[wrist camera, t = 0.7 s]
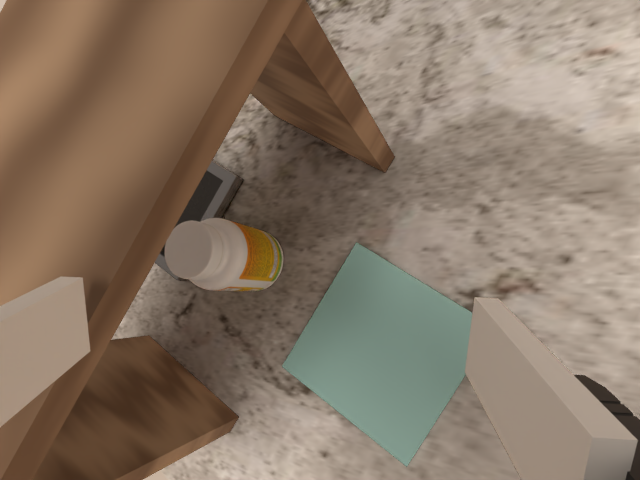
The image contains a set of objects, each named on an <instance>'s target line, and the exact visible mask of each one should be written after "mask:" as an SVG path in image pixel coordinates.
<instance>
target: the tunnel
mask: <svg viewBox="0 0 640 480" xmlns="http://www.w3.org/2000/svg"><path fill="white" fill-rule="evenodd" d="M250 93H251V94H252V95H253V96H254V97H255V98H256V99H257V100H258V101H259V102H260V103H262V104H263V105H264V106H265V107H266V108H267V109H268V110H269V111H270V112H271V113H273V114H274V115H275V116H277V117H279V118H281V119H283V120H284V121H286V122H288V123H290V124H292V125H294V126H296V127H298V128H300V129H302V130H304V131H306V132H307V133H309V134H311V135H313V136H315V137H317V138H319V139H321V140H323V141H325V142H327V143H329V144H330V145H332V146H334V147H336V148H338V149H340V150H342V151H344V152H346V153H348V154H350V155H352V156H353V157H355V158H357V159H359V160H361V161H363V162H365V163H367V164H369V165H371V166H373V167H375V168H377V169H378V170H380V171H382V172H384V173H385V172H386V171H387V169H388V167H389V166H390V164H391V162H392V161H393V159H394V157H395V156H394V155H393V153H392V151H391V149H390V148H389V146H388V144H387V142H386V141H385V139H384V137H383V135H382V134H381V132H380V130H379V128H378V127H377V125H376V123H375V121H374V120H373V118H372V116H371V114H370V113H369V111H368V109H367V107H366V105H365V104H364V102H363V100H362V98H361V97H360V95H359V93H358V91H357V90H356V88H355V86H354V84H353V83H352V81H351V79H350V77H349V76H348V74H347V72H346V70H345V69H344V67H343V65H342V63H341V62H340V60H339V58H338V56H337V54H336V53H335V51H334V49H333V47H332V46H331V44H330V42H329V40H328V39H327V37H326V35H325V33H324V32H323V30H322V28H321V26H320V25H319V23H318V21H317V19H316V18H315V16H314V14H313V12H312V11H311V9H310V7H309V5H308V3H307V2H306V0H7V1H6V3H5V5H4V7H3V9H2V11H1V12H0V306H2V305H4V304H6V303H8V302H10V301H12V300H14V299H16V298H18V297H20V296H22V295H24V294H26V293H28V292H30V291H32V290H34V289H36V288H38V287H40V286H42V285H44V284H46V283H49V282H51V281H53V280H55V279H57V278H59V277H81V278H83V285H84V295H85V304H86V314H87V323H88V333H89V342H90V352H89V353H88V354H86V355H85V356H84V357H83V358H82V359H80V360H79V361H78V362H77V363H76V364H75V365H73V366H72V367H71V368H70V369H69V370H67V371H66V372H65V373H64V374H63V375H62V376H60V377H59V378H58V379H57V380H56V381H54V382H53V383H52V384H51V385H50V386H49V387H47V388H46V389H45V390H44V391H43V392H41V393H40V394H39V395H38V396H37V397H36V398H34V399H33V400H32V401H31V402H30V403H28V404H27V405H26V406H25V407H24V408H22V409H21V410H20V411H19V412H18V413H17V414H15V415H14V416H13V417H12V418H11V419H9V420H8V421H7V422H6V423H5V424H4V425H2V426H1V427H0V480H143V479H144V478H146V477H148V476H150V475H152V474H154V473H155V472H157V471H159V470H161V469H163V468H165V467H166V466H168V465H170V464H172V463H174V462H176V461H177V460H179V459H181V458H183V457H185V456H187V455H188V454H190V453H192V452H194V451H196V450H198V449H199V448H201V447H203V446H205V445H207V444H208V443H210V442H212V441H214V440H216V439H218V438H219V437H221V436H223V435H225V434H227V433H229V432H230V431H231V429H232V428H233V426H234V424H235V423H236V421H237V419H238V418H239V417H238V416H237V415H236V414H235V413H234V412H233V411H232V410H231V409H229V408H228V407H227V406H226V405H225V404H224V403H223V402H222V401H221V400H219V399H218V398H217V397H216V396H215V395H214V394H213V393H212V392H211V391H210V390H208V389H207V388H206V387H205V386H204V385H203V384H202V383H201V382H200V381H198V380H197V379H196V378H195V377H194V376H193V375H192V374H191V373H190V372H189V371H187V370H186V369H185V368H184V367H183V366H182V365H181V364H180V363H179V362H178V361H176V360H175V359H174V358H173V357H172V356H171V355H170V354H169V353H168V352H166V351H165V350H164V349H163V348H162V347H161V346H160V345H159V344H158V343H157V342H155V341H154V340H153V339H152V338H151V337H150V336H141V337H132V338H123V339H115V340H111V339H112V337H113V335H114V333H115V332H116V330H117V328H118V326H119V325H120V323H121V321H122V319H123V317H124V316H125V314H126V312H127V310H128V309H129V307H130V305H131V303H132V301H133V300H134V298H135V296H136V294H137V293H138V291H139V289H140V287H141V286H142V284H143V282H144V280H145V278H146V277H147V275H148V273H149V271H150V270H151V268H152V266H153V264H154V262H155V261H156V259H157V257H158V255H159V254H160V252H161V250H162V248H163V247H164V245H165V243H166V241H167V239H168V238H169V236H170V234H171V232H172V231H173V229H174V227H175V225H176V223H177V222H178V220H179V218H180V216H181V215H182V213H183V211H184V209H185V208H186V206H187V204H188V202H189V200H190V199H191V197H192V195H193V193H194V192H195V190H196V188H197V186H198V185H199V183H200V181H201V179H202V177H203V176H204V174H205V172H206V170H207V169H208V167H209V165H210V163H211V161H212V160H213V158H214V156H215V154H216V153H217V151H218V149H219V147H220V146H221V144H222V142H223V140H224V138H225V137H226V135H227V133H228V131H229V130H230V128H231V126H232V124H233V122H234V121H235V119H236V117H237V115H238V114H239V112H240V110H241V108H242V107H243V105H244V103H245V101H246V99H247V98H248V96H249V94H250Z"/></svg>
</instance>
